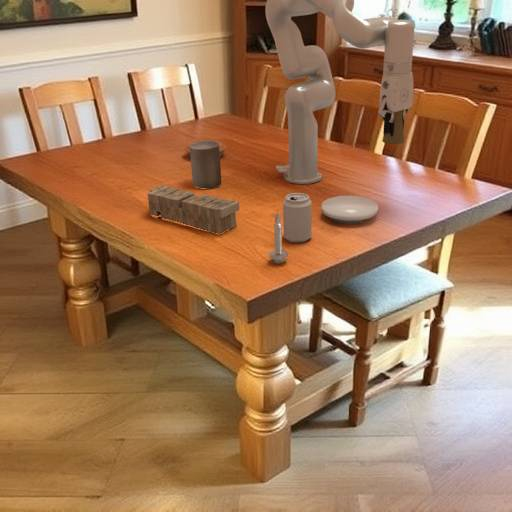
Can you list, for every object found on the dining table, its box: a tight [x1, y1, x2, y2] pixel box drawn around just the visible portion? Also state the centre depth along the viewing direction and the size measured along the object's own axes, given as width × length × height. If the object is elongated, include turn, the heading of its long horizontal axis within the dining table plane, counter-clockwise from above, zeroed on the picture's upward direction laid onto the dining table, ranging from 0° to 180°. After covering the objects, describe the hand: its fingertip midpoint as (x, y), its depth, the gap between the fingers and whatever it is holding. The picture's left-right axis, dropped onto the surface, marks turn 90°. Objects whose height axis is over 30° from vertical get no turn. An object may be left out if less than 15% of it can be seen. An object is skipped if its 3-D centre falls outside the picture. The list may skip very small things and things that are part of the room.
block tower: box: [147, 185, 240, 235], centre depth 194 cm, size 8×8×29 cm
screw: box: [268, 212, 289, 265], centre depth 167 cm, size 13×5×5 cm
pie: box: [184, 139, 227, 158], centre depth 253 cm, size 15×16×5 cm
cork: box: [382, 108, 405, 145], centre depth 191 cm, size 6×6×11 cm
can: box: [282, 192, 312, 244], centre depth 180 cm, size 8×8×12 cm
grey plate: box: [321, 195, 379, 225], centre depth 194 cm, size 16×16×4 cm
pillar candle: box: [188, 140, 223, 189], centre depth 221 cm, size 10×10×15 cm
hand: (393, 133), depth 193 cm, fingers closed on cork, 3 cm apart
